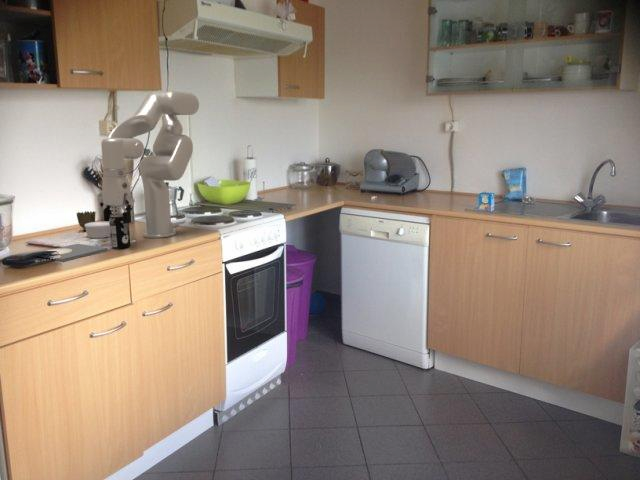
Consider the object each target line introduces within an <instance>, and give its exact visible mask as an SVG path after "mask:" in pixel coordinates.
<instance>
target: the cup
mask: <svg viewBox="0 0 640 480" xmlns="http://www.w3.org/2000/svg"><path fill="white" fill-rule="evenodd" d="M96 215H97V214H96V211H88V210H87V211H86V210H85V211H84V212H83V211H81V212H80V211H78V212H76V218H77V222H78V226H79V227H81V228H82V231H83V232H86V228H85V226H84V225H85V224H87V223H91V222H96ZM86 233H87V232H86Z"/></svg>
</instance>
